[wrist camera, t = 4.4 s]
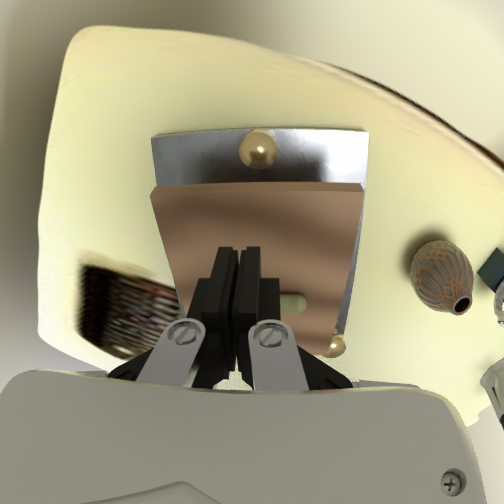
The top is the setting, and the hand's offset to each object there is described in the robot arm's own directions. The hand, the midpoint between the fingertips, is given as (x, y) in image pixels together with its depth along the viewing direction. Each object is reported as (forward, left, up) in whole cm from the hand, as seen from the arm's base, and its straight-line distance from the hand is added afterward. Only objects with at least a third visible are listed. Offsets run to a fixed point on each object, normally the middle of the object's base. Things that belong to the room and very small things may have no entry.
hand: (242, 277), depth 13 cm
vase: (-9, -19, -18) cm, 28 cm away
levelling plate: (-9, 0, -11) cm, 14 cm away
